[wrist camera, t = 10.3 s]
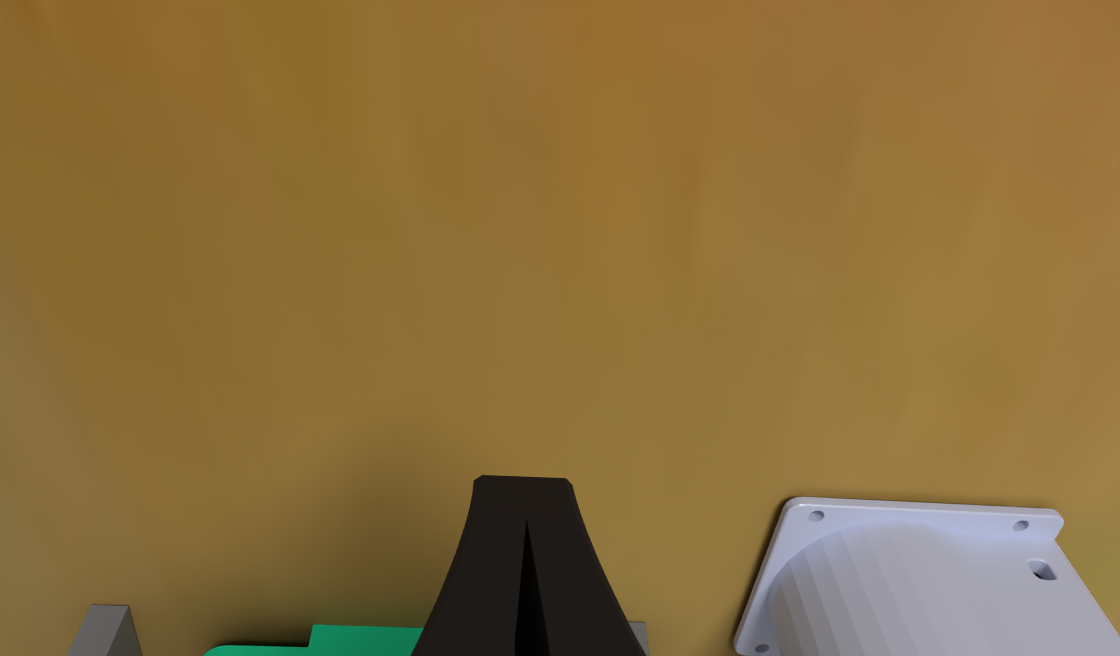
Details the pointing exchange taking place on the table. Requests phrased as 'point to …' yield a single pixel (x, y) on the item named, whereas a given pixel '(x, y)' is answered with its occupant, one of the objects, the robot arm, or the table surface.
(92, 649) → the dock
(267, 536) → the table surface
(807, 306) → the table surface
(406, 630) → the camera mount
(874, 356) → the table surface
